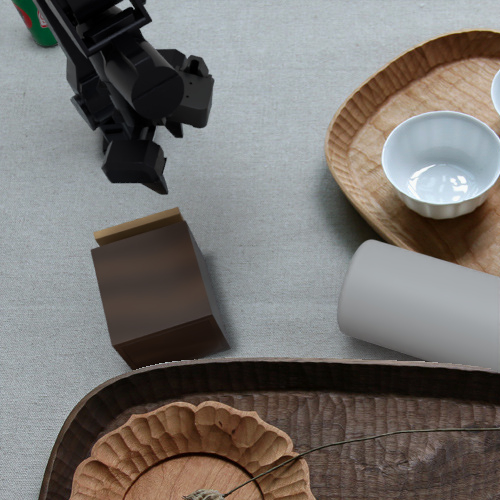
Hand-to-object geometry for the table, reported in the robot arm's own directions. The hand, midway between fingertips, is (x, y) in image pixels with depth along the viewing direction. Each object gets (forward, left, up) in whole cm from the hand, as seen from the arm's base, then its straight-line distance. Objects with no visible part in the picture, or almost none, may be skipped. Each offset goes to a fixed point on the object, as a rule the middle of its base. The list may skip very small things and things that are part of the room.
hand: (172, 164), depth 102 cm
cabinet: (+14, -4, -14) cm, 20 cm away
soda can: (-41, -25, -14) cm, 50 cm away
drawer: (+9, -5, -13) cm, 17 cm away
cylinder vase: (+15, +21, -8) cm, 27 cm away
